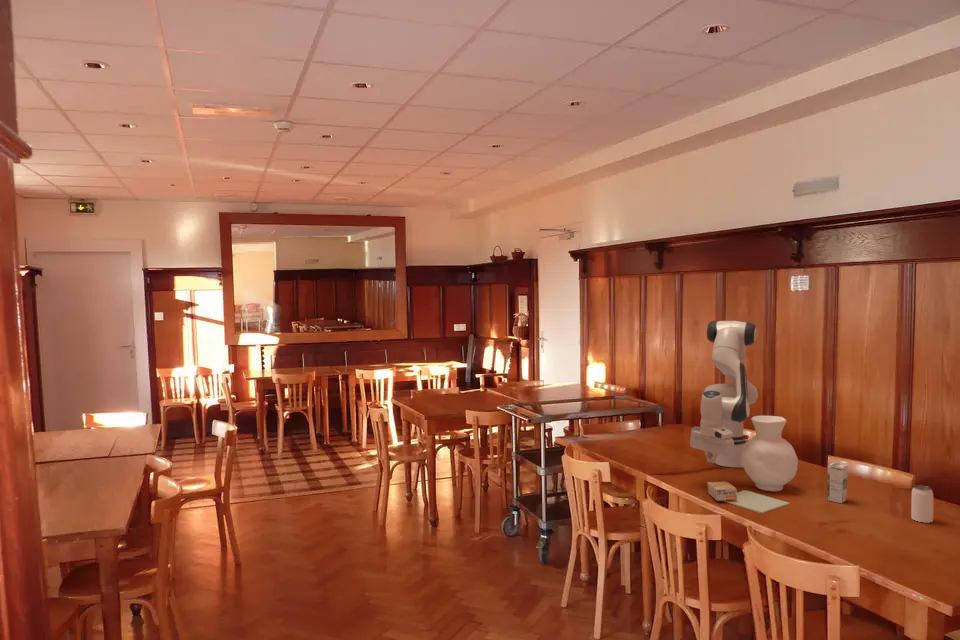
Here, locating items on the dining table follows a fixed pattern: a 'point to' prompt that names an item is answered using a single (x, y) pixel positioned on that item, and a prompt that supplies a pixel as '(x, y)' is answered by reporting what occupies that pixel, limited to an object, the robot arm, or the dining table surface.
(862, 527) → the dining table surface
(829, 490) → the syrup box
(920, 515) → the can
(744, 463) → the vase
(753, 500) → the board
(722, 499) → the supplement box
